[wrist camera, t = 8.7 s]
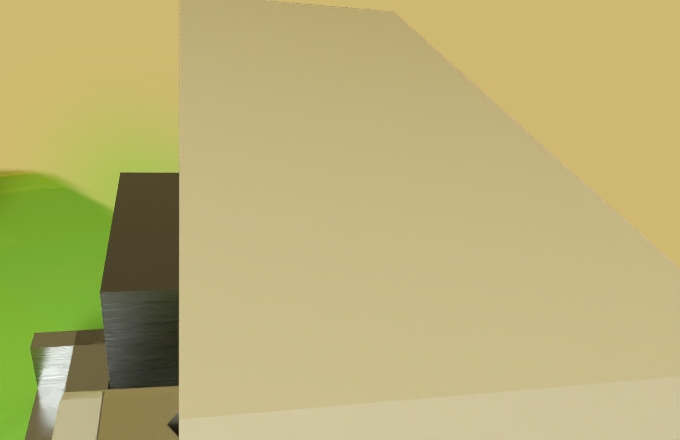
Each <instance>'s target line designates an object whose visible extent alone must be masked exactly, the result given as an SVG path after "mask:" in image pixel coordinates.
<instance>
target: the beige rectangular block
mask: <svg viewBox="0 0 680 440" xmlns="http://www.w3.org/2000/svg"><path fill="white" fill-rule="evenodd" d="M179 52H180V53H179V54H180V55H179V57H180V58H179V59H180V60H179V62H180V63H179V66H180V67H179V68H180V69H179V72H180V73H179V75H180V76H179V85H180V86H179V88H180V89H179V91H180V92H179V98H180V99H179V440H680V268H679V267H678V266H677V265H676V264H674V263H673V262H672V261H671V260H670V259H669V258H668V257H667V256H665V255H664V254H663V253H662V252H661V251H660V250H659V249H658V248H657V247H655V246H654V245H653V244H652V243H651V242H650V241H649V240H647V238H646V237H644V236H643V235H642V234H641V233H640V232H639V231H638V230H637V229H636V228H634V227H633V226H632V225H631V224H630V223H629V222H628V221H627V220H625V219H624V218H623V217H622V216H621V215H620V214H619V213H618V212H617V211H615V210H614V209H613V208H612V207H611V206H610V205H609V204H608V203H607V202H605V201H604V200H603V199H602V198H601V197H600V196H599V195H598V194H597V193H595V192H594V191H593V190H592V189H591V188H590V187H589V186H588V185H587V184H585V183H584V182H583V181H582V180H581V179H580V178H579V177H578V176H576V175H575V174H574V173H573V172H572V171H571V170H570V169H568V167H566V166H565V165H564V164H563V163H562V162H561V161H560V160H559V159H557V158H556V157H555V156H554V155H553V154H552V153H551V152H550V151H549V150H548V149H546V148H545V147H544V146H543V145H542V144H541V143H540V142H538V140H536V139H535V138H534V137H533V136H532V135H531V134H530V133H529V132H527V131H526V130H525V129H524V128H523V127H522V126H521V125H519V123H517V122H516V121H515V120H514V119H513V118H512V117H511V116H510V115H509V114H507V113H506V112H505V111H504V110H503V109H502V108H501V107H500V106H499V105H497V104H496V103H495V102H494V101H493V100H492V99H491V98H489V96H487V95H486V94H485V93H484V92H483V91H482V90H481V89H480V88H478V87H477V86H476V85H475V84H474V83H473V82H472V81H471V80H470V79H468V78H467V77H466V76H465V75H464V74H463V73H462V72H461V71H460V70H458V69H457V68H456V67H455V66H454V65H453V64H452V63H451V62H449V61H448V60H447V59H446V58H445V57H444V56H443V55H442V54H441V53H439V52H438V51H437V50H436V49H435V48H434V47H433V46H432V45H430V44H429V43H428V42H427V41H426V40H425V39H424V38H423V37H422V36H421V35H419V34H418V33H417V32H416V31H415V30H414V29H413V28H412V27H411V26H409V25H408V24H407V23H406V22H405V21H404V20H403V19H402V18H400V17H399V16H398V15H397V14H396V13H395V12H394V11H381V10H371V9H358V8H348V7H335V6H324V5H312V4H301V3H289V2H277V1H266V0H180V50H179Z"/></svg>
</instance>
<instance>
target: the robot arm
mask: <svg viewBox="0 0 680 440" xmlns="http://www.w3.org/2000/svg"><path fill="white" fill-rule="evenodd" d="M52 440H179V386H171V387H150V388H129V389H108V390H98V391H79V392H64V394H63V396H62V398H61V400H60V402H59V406H58V411H57V416H56V421H55V426H54V430H53V435H52Z"/></svg>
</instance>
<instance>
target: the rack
mask: <svg viewBox="0 0 680 440" xmlns="http://www.w3.org/2000/svg"><path fill="white" fill-rule="evenodd" d="M100 297H101V306H102V316H103V325H104V329H98V330H80V331H62V332H44V333H34V337H33V340H32V344H31V347H30V350H31V355H32V360H33V365H34V370H35V375H36V381H37V386H38V390H37V394H36V397H35V401H34V405H33V409H32V413H31V417H30V421H29V425H28V429H27V433H26V437H25V440H52V435H53V430H54V426H55V421H56V416H57V411H58V406H59V402H60V400H61V398H62V396H63V394H64V392H79V391H98V390H108V389H129V388H150V387H171V386H179V173H120V179H119V184H118V190H117V196H116V202H115V208H114V214H113V220H112V225H111V231H110V237H109V243H108V249H107V255H106V261H105V266H104V272H103V278H102V284H101V290H100Z"/></svg>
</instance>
